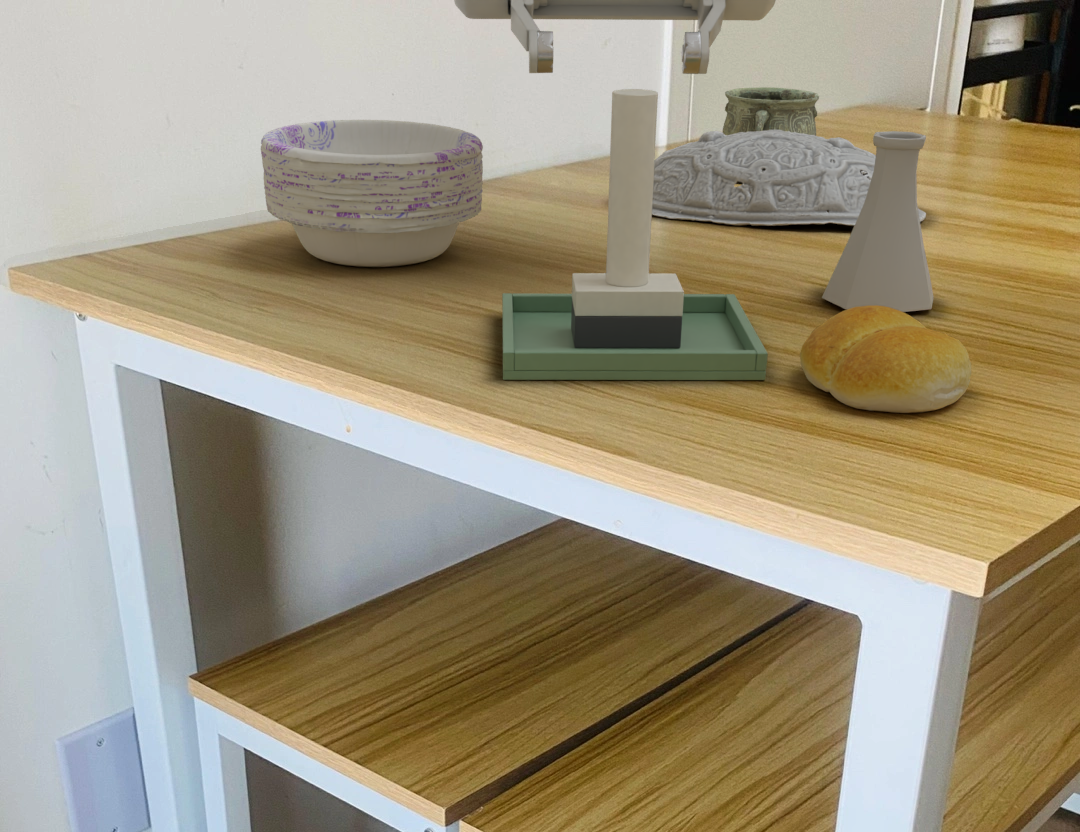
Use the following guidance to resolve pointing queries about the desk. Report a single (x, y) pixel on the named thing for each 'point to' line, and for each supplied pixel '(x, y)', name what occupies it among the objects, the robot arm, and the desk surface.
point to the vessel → (770, 110)
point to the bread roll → (885, 361)
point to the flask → (886, 235)
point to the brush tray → (705, 353)
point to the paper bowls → (372, 187)
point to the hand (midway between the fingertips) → (618, 67)
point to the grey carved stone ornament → (763, 179)
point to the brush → (629, 245)
